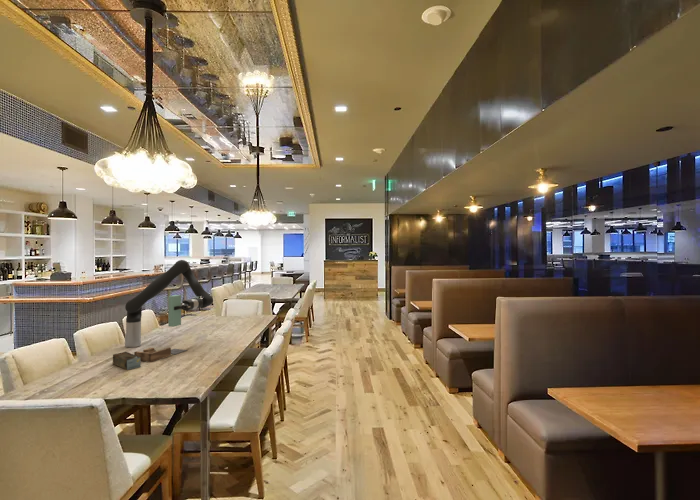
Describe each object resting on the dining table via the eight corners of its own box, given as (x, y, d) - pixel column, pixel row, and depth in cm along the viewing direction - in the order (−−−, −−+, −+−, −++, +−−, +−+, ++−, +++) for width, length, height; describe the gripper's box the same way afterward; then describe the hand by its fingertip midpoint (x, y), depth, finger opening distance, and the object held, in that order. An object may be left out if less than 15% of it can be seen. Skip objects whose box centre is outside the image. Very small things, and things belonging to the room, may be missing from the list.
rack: (133, 360, 234) (133, 351, 234) (153, 353, 249) (153, 346, 249) (151, 362, 230) (151, 353, 230) (170, 355, 245) (170, 347, 245)
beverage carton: (126, 370, 214) (126, 358, 214) (112, 364, 226) (112, 353, 226) (141, 367, 220) (141, 355, 220) (126, 361, 232) (126, 350, 232)
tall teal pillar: (168, 326, 251) (168, 296, 251) (176, 324, 258) (176, 295, 258) (173, 326, 250) (173, 296, 250) (181, 324, 257) (181, 295, 257)
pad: (161, 353, 250) (161, 352, 250) (174, 349, 261) (174, 348, 261) (175, 354, 247) (175, 354, 247) (187, 350, 257) (187, 349, 257)
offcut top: (143, 354, 237) (143, 349, 237) (149, 351, 243) (149, 347, 243) (148, 354, 237) (148, 350, 237) (154, 351, 243) (154, 347, 243)
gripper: (181, 299, 270) (163, 302, 254) (198, 299, 265) (180, 303, 249) (181, 309, 270) (163, 313, 254) (198, 310, 265) (180, 314, 249)
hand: (171, 308), depth 252 cm, fingers closed on tall teal pillar, 4 cm apart
